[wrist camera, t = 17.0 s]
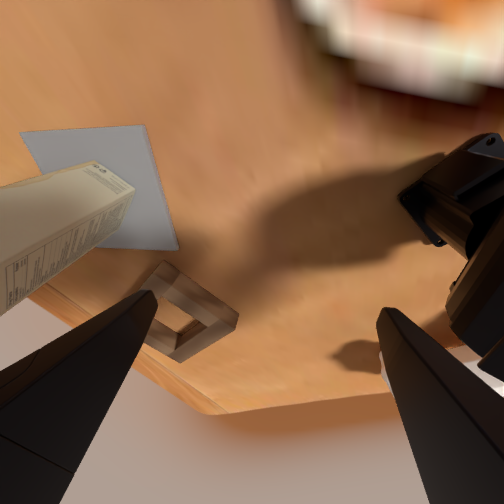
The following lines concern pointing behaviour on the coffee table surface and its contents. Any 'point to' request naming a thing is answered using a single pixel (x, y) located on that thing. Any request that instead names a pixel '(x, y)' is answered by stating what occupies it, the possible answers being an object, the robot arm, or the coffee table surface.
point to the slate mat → (121, 164)
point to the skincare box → (55, 224)
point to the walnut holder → (195, 304)
